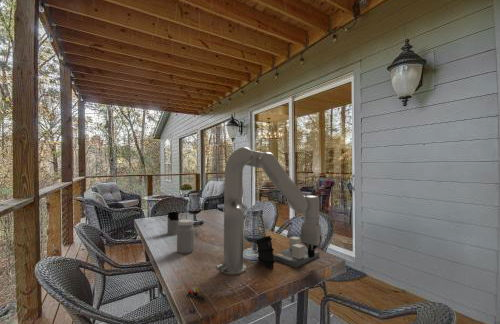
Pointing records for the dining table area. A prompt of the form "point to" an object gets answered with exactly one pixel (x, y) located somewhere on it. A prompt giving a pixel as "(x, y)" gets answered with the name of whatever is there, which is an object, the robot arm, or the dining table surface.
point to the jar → (185, 236)
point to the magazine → (265, 252)
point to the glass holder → (173, 223)
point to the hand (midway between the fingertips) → (311, 256)
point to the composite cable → (195, 294)
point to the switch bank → (288, 259)
